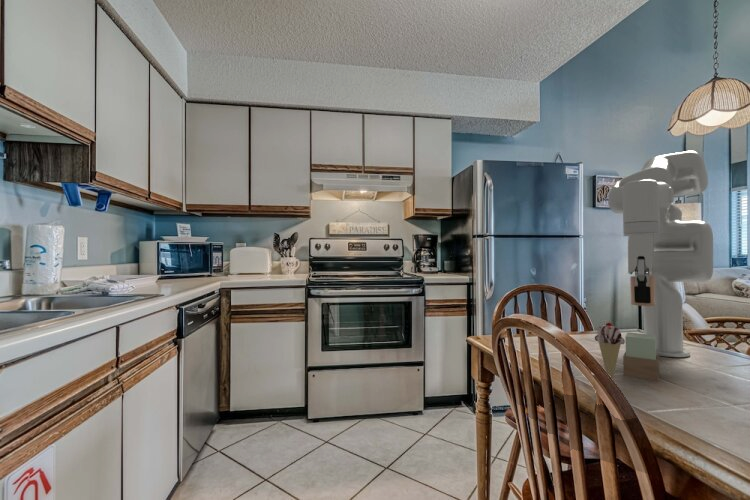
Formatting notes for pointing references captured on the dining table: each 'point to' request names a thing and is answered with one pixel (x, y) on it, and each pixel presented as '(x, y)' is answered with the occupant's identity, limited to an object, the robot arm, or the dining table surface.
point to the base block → (641, 367)
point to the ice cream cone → (609, 346)
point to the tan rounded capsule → (652, 291)
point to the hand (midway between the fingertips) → (643, 300)
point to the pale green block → (641, 346)
